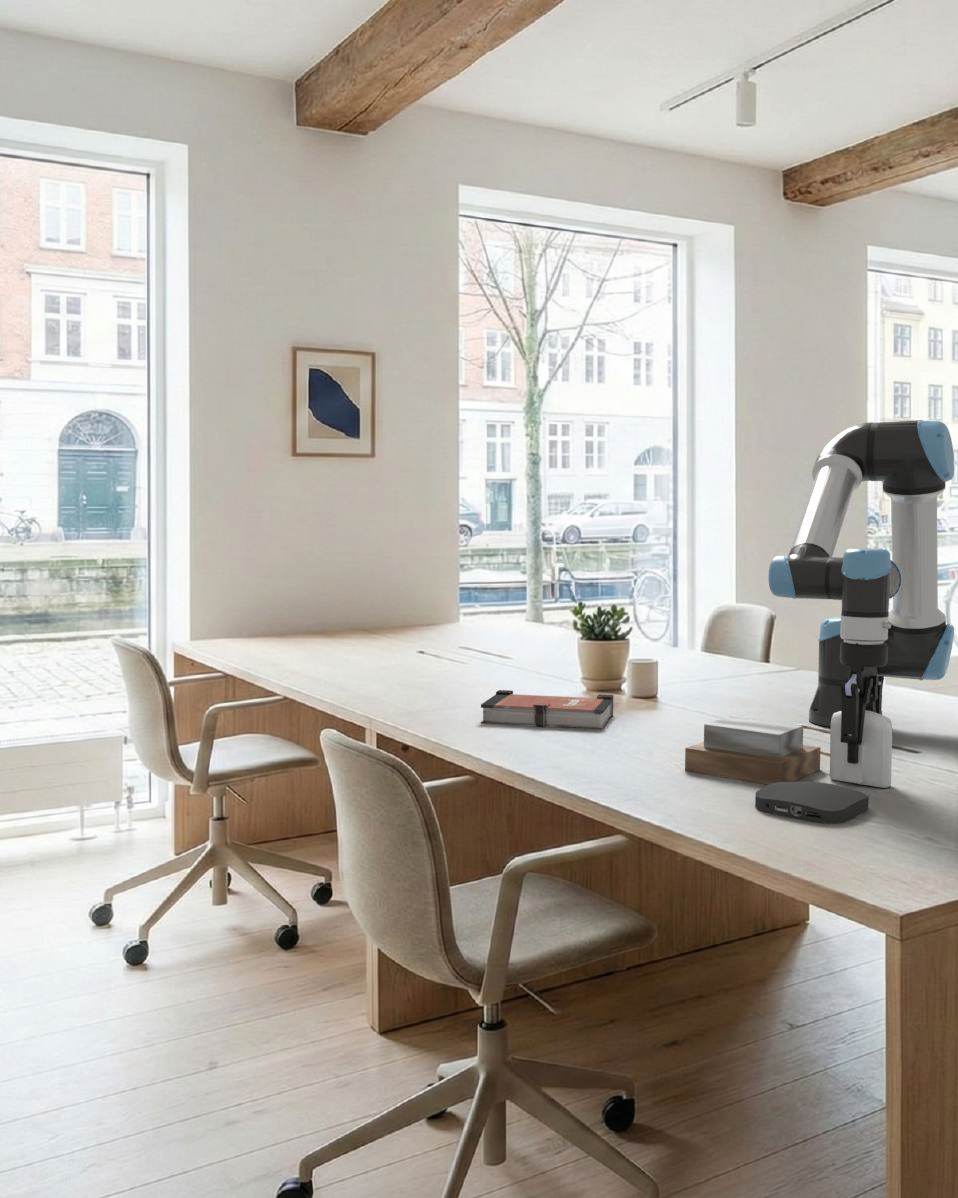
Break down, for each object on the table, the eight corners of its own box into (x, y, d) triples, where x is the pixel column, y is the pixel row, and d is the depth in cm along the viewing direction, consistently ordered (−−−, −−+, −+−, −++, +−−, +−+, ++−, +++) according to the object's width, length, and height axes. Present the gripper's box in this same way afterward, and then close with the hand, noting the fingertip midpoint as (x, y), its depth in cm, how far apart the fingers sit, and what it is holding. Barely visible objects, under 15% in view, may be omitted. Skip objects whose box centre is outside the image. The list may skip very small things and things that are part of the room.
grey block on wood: (727, 754, 208) (728, 712, 207) (819, 769, 196) (821, 724, 196) (684, 770, 195) (685, 725, 195) (781, 786, 184) (782, 739, 183)
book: (480, 726, 237) (480, 702, 237) (499, 711, 254) (499, 690, 254) (601, 732, 231) (602, 708, 230) (613, 717, 248) (613, 695, 247)
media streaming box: (876, 809, 172) (877, 790, 172) (836, 829, 161) (837, 809, 161) (788, 792, 182) (789, 774, 182) (745, 810, 171) (746, 791, 171)
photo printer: (825, 780, 189) (827, 708, 188) (836, 775, 192) (838, 705, 191) (884, 790, 182) (886, 716, 181) (895, 785, 185) (897, 712, 184)
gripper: (867, 648, 176) (862, 792, 178) (904, 638, 189) (900, 772, 191) (821, 644, 180) (817, 785, 182) (861, 635, 194) (857, 766, 196)
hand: (859, 778), depth 187 cm, fingers closed on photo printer, 4 cm apart
